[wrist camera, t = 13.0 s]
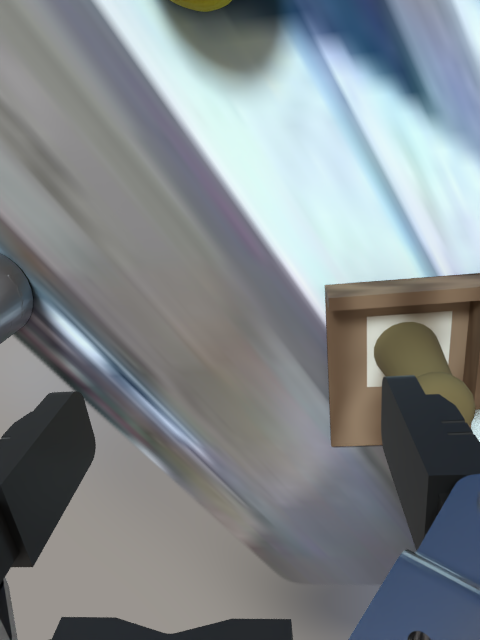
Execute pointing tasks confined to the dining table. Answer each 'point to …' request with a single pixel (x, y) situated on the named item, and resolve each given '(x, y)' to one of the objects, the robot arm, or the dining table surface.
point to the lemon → (202, 4)
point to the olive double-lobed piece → (422, 363)
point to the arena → (371, 321)
